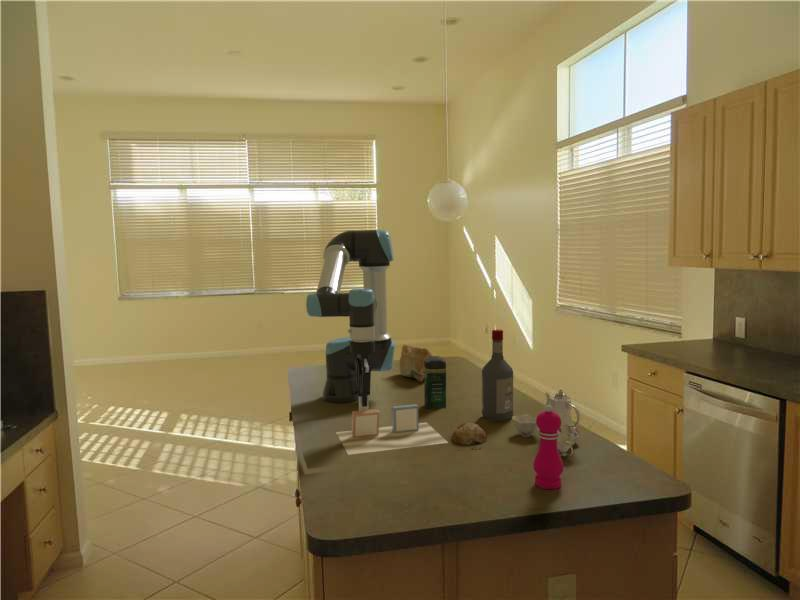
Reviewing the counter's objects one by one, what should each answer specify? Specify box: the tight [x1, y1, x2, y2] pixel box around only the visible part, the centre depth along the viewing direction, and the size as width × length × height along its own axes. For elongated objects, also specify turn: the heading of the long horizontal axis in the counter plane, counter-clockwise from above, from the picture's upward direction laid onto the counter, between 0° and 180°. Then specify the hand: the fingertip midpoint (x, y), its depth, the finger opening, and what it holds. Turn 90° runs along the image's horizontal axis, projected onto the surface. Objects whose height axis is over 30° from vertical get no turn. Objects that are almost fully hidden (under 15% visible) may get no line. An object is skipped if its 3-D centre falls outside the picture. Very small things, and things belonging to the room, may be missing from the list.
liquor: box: [481, 329, 514, 422], centre depth 194 cm, size 9×9×30 cm
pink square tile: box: [351, 408, 380, 438], centre depth 174 cm, size 2×8×8 cm, turn 106°
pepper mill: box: [532, 405, 564, 490], centre depth 141 cm, size 7×7×20 cm
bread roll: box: [451, 421, 487, 450], centre depth 171 cm, size 10×10×8 cm
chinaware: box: [511, 388, 581, 458], centre depth 169 cm, size 28×17×17 cm, turn 23°
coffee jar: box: [423, 355, 447, 410], centre depth 207 cm, size 10×8×19 cm
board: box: [335, 422, 449, 456], centre depth 174 cm, size 20×30×1 cm, turn 106°
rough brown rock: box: [399, 344, 434, 383], centre depth 253 cm, size 23×17×15 cm
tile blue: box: [391, 403, 419, 433], centre depth 179 cm, size 2×8×8 cm, turn 106°
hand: (363, 415), depth 175 cm, fingers closed
